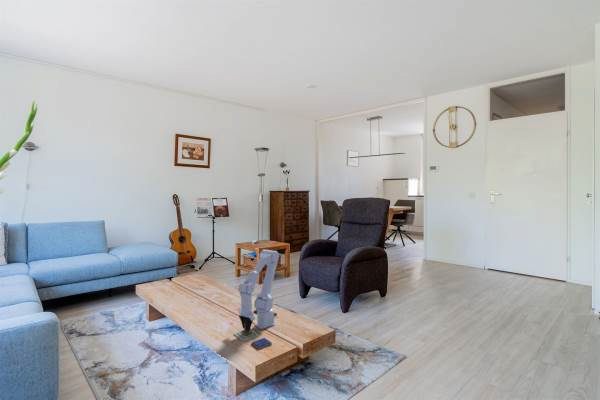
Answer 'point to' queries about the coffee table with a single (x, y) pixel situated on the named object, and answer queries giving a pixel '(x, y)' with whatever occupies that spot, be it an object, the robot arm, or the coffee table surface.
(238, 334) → the board
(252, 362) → the coffee table surface
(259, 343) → the ink pad
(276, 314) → the phone
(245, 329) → the stamp
